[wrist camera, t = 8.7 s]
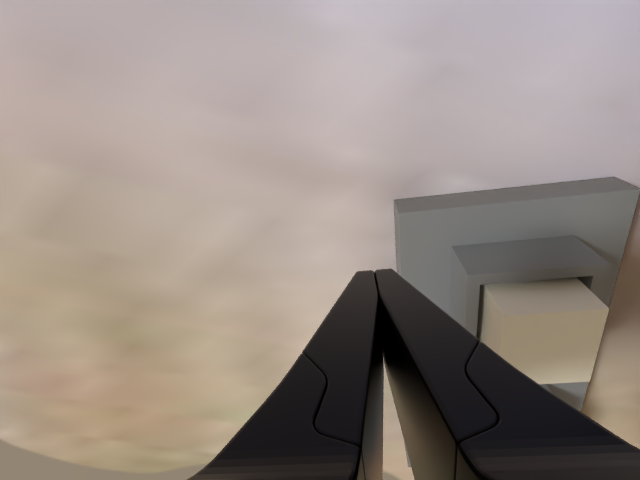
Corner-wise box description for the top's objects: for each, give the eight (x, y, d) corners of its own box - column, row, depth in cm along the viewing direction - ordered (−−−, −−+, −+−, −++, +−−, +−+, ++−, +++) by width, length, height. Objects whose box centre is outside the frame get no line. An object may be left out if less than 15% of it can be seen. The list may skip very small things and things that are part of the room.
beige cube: (565, 266, 19) (609, 308, 16) (553, 332, 21) (589, 381, 18) (477, 274, 20) (503, 316, 17) (473, 338, 22) (495, 386, 19)
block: (614, 176, 20) (690, 212, 16) (554, 437, 30) (591, 504, 26) (393, 199, 22) (407, 238, 17) (404, 443, 31) (415, 508, 27)
